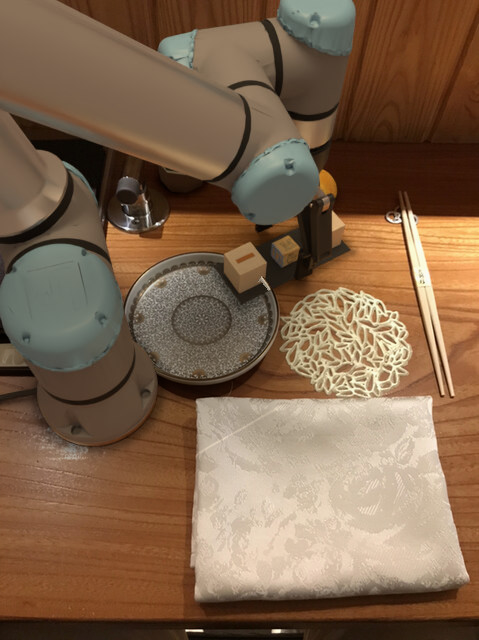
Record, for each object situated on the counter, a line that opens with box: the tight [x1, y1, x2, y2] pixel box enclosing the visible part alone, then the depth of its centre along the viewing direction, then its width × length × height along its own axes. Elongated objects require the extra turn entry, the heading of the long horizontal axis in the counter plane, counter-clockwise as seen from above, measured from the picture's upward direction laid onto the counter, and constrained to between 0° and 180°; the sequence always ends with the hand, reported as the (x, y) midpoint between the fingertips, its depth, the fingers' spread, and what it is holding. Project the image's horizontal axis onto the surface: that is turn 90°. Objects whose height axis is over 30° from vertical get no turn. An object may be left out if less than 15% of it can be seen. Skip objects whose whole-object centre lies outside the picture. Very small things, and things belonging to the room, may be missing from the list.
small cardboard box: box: [223, 241, 267, 293], centre depth 82 cm, size 4×4×5 cm
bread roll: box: [319, 168, 338, 198], centre depth 92 cm, size 8×9×4 cm
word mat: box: [213, 226, 352, 305], centre depth 86 cm, size 20×8×1 cm, turn 121°
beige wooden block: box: [332, 210, 346, 248], centre depth 86 cm, size 4×4×5 cm
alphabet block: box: [271, 236, 300, 268], centre depth 85 cm, size 3×3×3 cm
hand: (282, 251), depth 85 cm, fingers open, 10 cm apart
